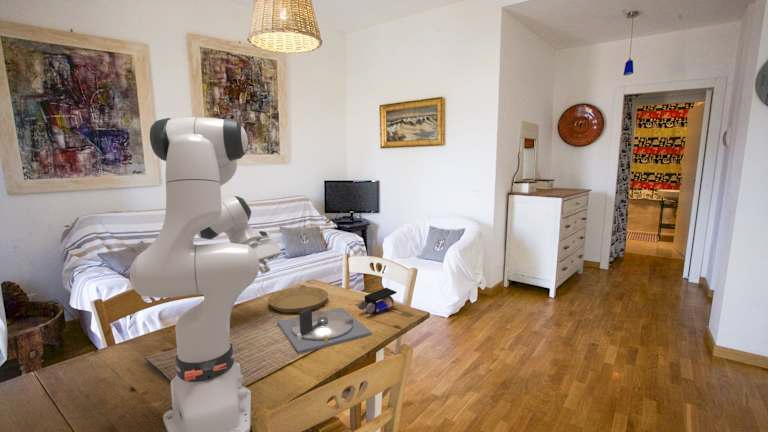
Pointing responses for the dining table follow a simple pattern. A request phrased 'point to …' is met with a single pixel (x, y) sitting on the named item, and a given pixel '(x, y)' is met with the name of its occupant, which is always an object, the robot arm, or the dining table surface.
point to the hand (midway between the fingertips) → (266, 271)
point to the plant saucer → (297, 299)
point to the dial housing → (310, 345)
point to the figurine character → (376, 296)
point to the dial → (321, 324)
